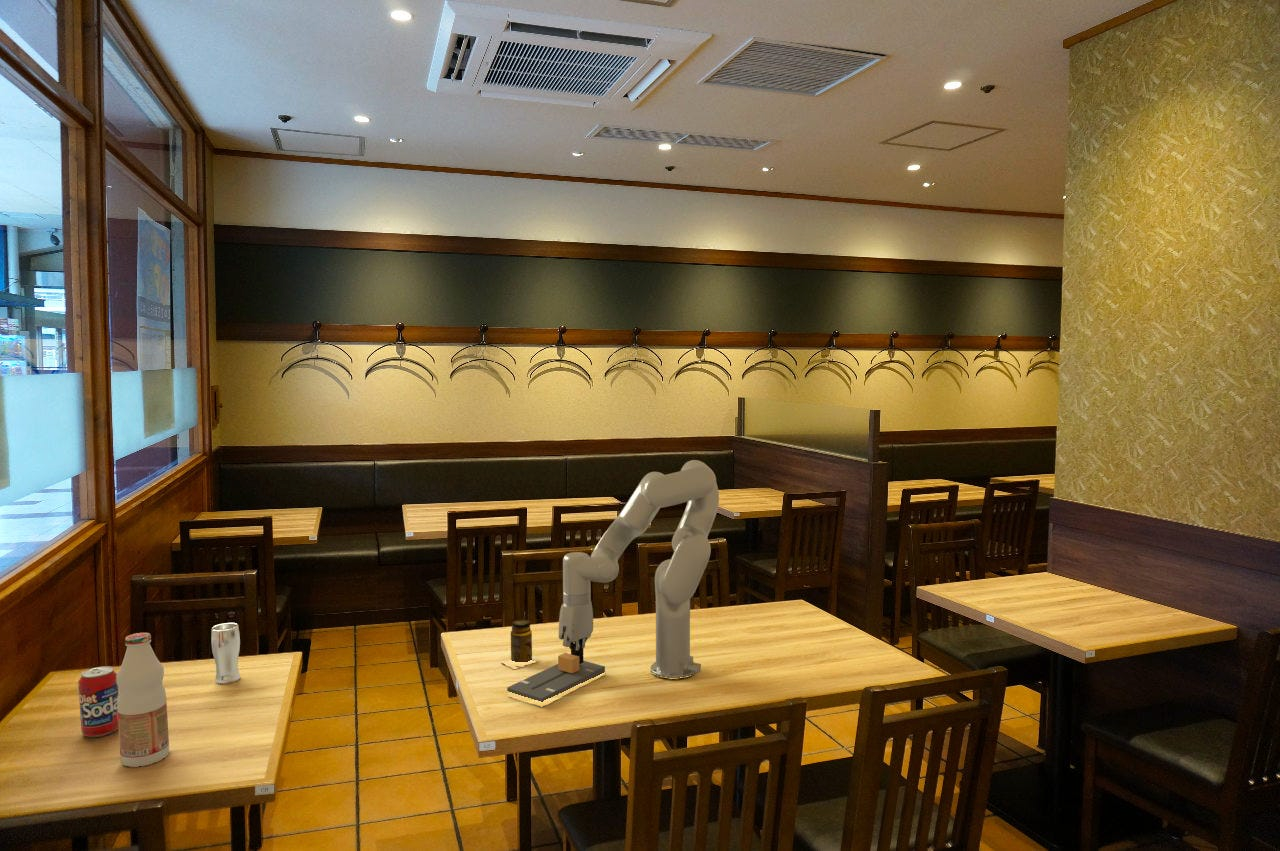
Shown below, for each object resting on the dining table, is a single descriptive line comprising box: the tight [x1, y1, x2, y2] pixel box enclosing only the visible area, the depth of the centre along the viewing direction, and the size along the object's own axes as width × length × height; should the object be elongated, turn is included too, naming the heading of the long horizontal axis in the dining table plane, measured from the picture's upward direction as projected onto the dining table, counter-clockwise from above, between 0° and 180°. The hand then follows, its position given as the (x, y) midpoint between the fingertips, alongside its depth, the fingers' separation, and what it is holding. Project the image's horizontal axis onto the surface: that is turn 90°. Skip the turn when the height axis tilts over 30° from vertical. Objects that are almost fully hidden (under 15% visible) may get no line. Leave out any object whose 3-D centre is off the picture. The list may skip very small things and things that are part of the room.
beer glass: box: [211, 622, 241, 685], centre depth 231 cm, size 7×7×15 cm
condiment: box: [510, 619, 533, 662], centre depth 243 cm, size 7×8×12 cm
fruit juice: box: [116, 632, 170, 768], centre depth 186 cm, size 9×9×28 cm
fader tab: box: [557, 652, 579, 673], centre depth 230 cm, size 3×5×4 cm, turn 55°
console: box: [506, 660, 606, 702], centre depth 227 cm, size 26×12×3 cm, turn 145°
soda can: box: [77, 665, 120, 738], centre depth 200 cm, size 8×8×15 cm
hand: (577, 662), depth 233 cm, fingers closed
